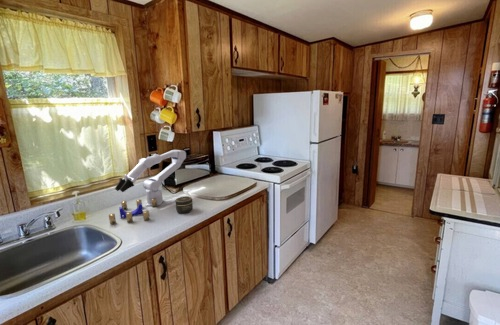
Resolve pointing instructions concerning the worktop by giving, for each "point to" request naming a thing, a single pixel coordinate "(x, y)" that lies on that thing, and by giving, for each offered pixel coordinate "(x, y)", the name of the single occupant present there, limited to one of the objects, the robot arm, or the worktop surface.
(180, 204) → the jar
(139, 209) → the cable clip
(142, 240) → the worktop surface
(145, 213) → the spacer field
